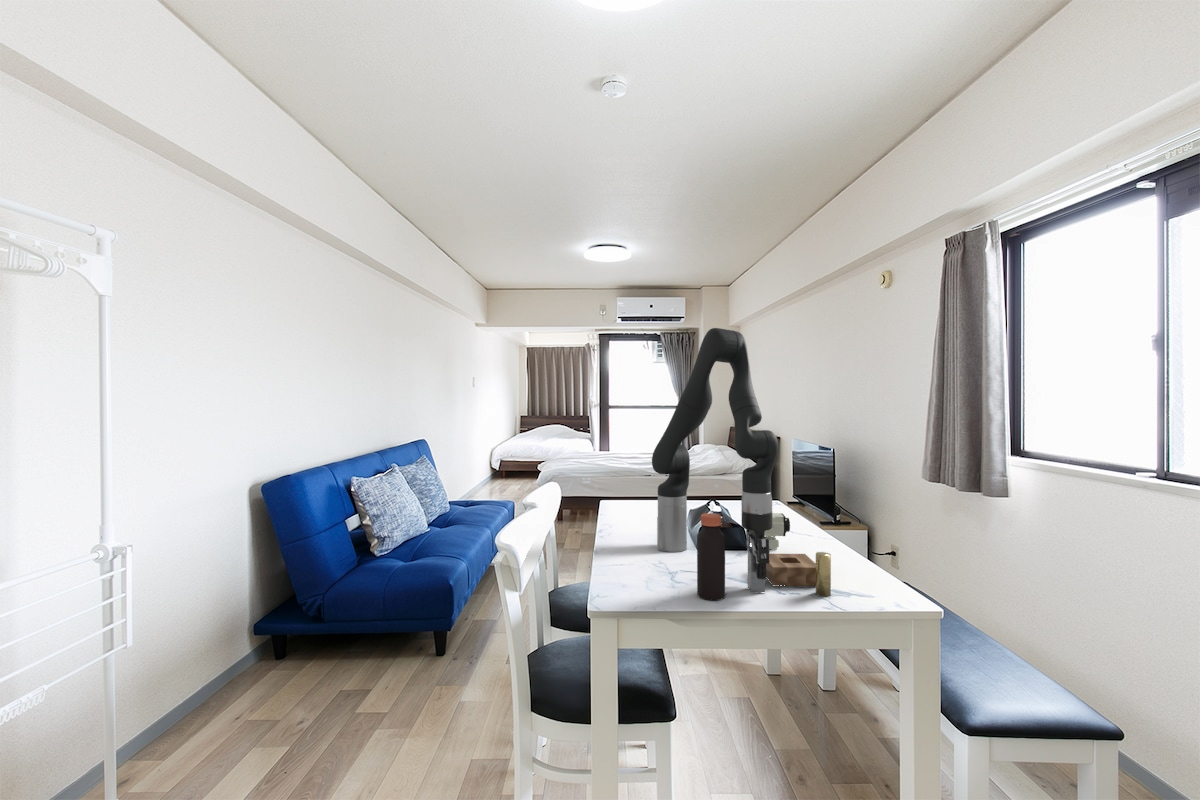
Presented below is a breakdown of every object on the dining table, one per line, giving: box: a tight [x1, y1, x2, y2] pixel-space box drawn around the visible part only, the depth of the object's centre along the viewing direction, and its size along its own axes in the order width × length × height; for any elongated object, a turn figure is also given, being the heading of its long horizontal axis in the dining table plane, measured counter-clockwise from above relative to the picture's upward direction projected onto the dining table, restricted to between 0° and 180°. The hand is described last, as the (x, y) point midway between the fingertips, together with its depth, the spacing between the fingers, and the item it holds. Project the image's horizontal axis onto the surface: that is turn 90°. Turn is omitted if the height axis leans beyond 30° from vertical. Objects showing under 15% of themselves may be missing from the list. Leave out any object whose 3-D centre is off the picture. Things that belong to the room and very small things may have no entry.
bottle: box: [696, 512, 726, 601], centre depth 138 cm, size 7×7×20 cm
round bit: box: [815, 551, 832, 598], centre depth 139 cm, size 4×4×10 cm
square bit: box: [747, 548, 766, 593], centre depth 142 cm, size 4×4×10 cm
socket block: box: [766, 553, 816, 587], centre depth 150 cm, size 12×12×5 cm
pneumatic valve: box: [764, 512, 791, 550], centre depth 178 cm, size 6×12×12 cm, turn 83°
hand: (757, 573), depth 142 cm, fingers open, 8 cm apart
